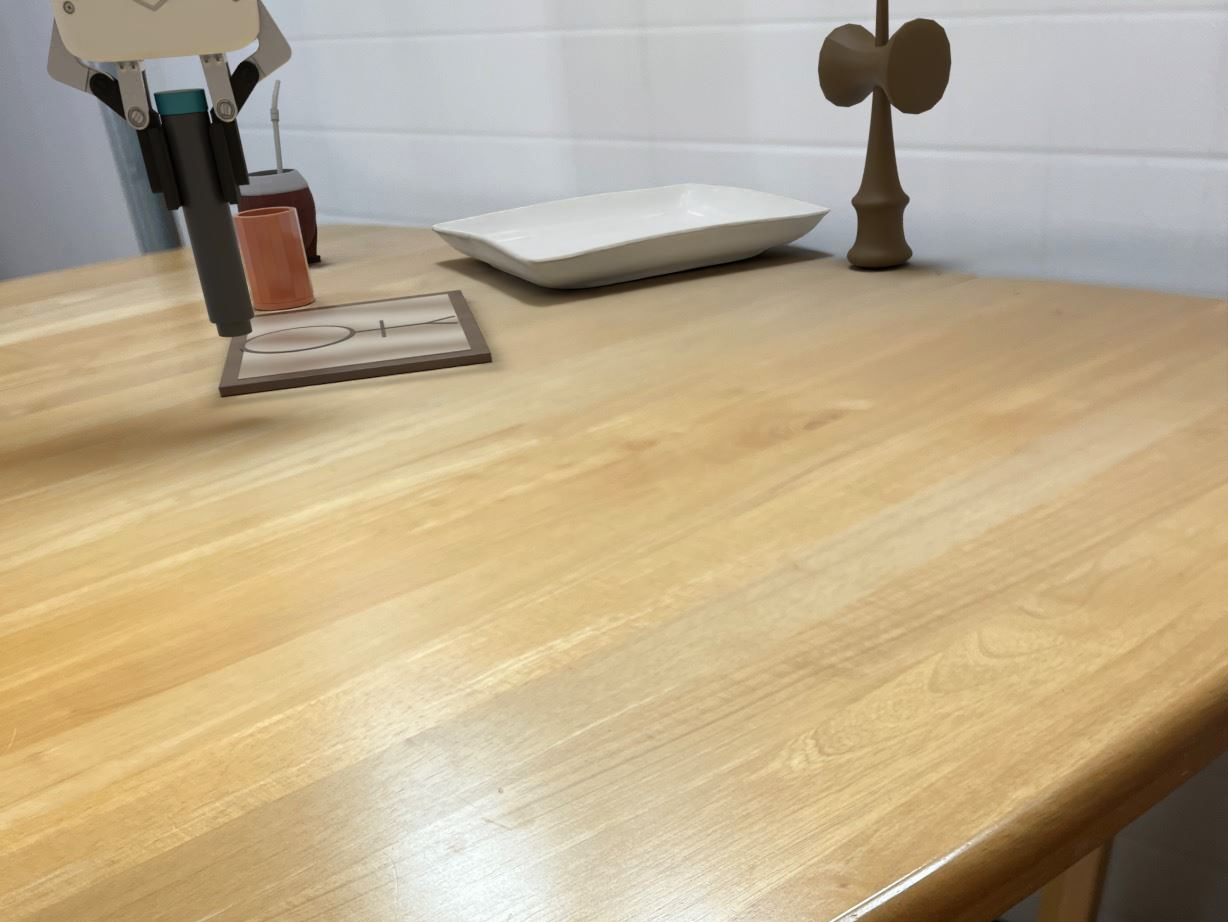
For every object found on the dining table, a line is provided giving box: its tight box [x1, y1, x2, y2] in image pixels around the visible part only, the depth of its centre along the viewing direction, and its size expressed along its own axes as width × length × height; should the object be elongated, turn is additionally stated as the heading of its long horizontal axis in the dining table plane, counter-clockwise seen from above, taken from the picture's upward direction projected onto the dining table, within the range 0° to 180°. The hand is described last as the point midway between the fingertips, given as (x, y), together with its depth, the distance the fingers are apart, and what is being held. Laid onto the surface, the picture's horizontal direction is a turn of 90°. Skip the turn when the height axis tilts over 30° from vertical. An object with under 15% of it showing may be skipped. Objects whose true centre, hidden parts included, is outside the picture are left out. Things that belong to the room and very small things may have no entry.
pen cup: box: [232, 207, 316, 311], centre depth 112 cm, size 5×5×7 cm
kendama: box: [817, 0, 952, 268], centre depth 102 cm, size 6×10×20 cm, turn 31°
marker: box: [153, 87, 255, 338], centre depth 77 cm, size 3×3×12 cm
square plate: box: [431, 182, 831, 290], centre depth 118 cm, size 27×27×4 cm
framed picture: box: [218, 289, 493, 397], centre depth 99 cm, size 24×18×1 cm
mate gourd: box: [236, 79, 322, 264], centre depth 126 cm, size 8×8×15 cm
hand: (204, 201), depth 76 cm, fingers closed on marker, 2 cm apart
